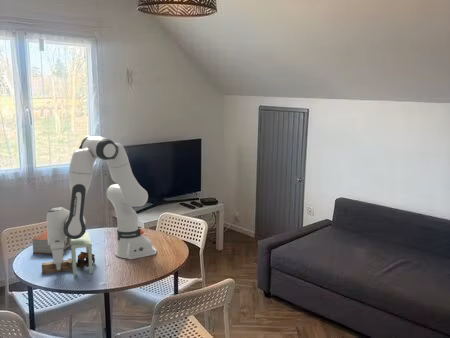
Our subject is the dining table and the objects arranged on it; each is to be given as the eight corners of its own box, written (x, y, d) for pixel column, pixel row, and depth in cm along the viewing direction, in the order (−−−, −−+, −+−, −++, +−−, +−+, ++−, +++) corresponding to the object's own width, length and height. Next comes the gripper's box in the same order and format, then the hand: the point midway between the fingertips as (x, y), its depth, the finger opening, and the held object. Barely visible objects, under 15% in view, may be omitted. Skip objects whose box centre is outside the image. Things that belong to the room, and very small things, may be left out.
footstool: (89, 259, 227) (88, 232, 225) (92, 273, 210) (91, 243, 207) (71, 261, 224) (70, 233, 221) (73, 276, 207) (72, 245, 204)
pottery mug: (71, 266, 218) (75, 250, 221) (87, 270, 224) (91, 254, 227) (81, 268, 210) (86, 251, 212) (98, 272, 216) (103, 256, 218)
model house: (60, 256, 233) (58, 229, 230) (33, 254, 234) (31, 228, 231) (78, 241, 256) (77, 217, 253) (53, 240, 257) (52, 216, 255)
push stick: (71, 266, 218) (71, 258, 217) (72, 270, 213) (72, 262, 212) (42, 270, 213) (41, 262, 212) (42, 275, 207) (41, 266, 206)
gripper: (50, 234, 219) (51, 259, 221) (50, 247, 200) (51, 274, 202) (63, 232, 221) (64, 257, 223) (64, 245, 202) (65, 272, 205)
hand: (58, 266), depth 213 cm, fingers open, 8 cm apart
